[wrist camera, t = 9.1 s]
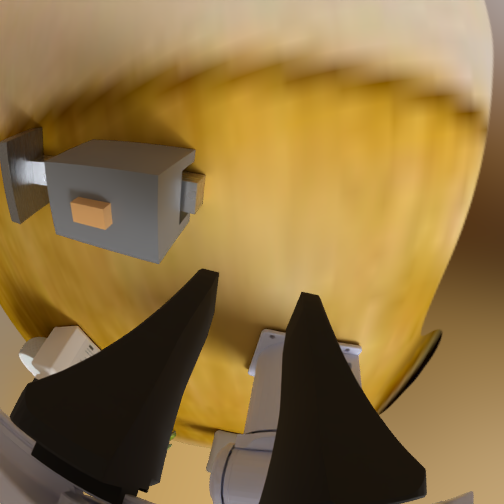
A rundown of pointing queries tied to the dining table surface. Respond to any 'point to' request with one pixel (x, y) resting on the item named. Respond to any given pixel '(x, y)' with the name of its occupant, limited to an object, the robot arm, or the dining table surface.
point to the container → (63, 351)
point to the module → (119, 196)
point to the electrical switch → (219, 445)
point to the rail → (35, 185)
